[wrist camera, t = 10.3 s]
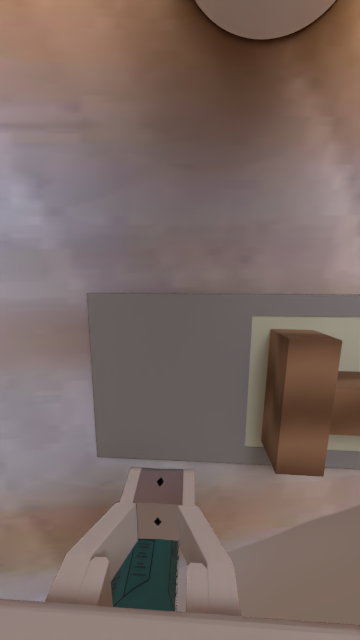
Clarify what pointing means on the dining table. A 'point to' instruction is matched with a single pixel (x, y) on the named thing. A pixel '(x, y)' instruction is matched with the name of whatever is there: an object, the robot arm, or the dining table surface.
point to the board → (202, 371)
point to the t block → (306, 400)
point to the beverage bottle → (147, 576)
